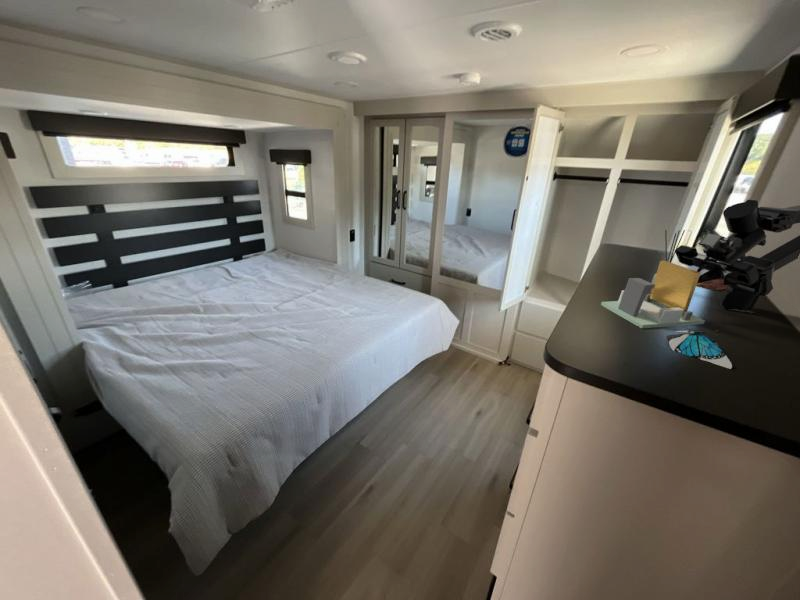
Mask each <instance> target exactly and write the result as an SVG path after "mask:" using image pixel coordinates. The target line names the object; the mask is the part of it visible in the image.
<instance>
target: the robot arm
mask: <svg viewBox="0 0 800 600" xmlns="http://www.w3.org/2000/svg"><path fill="white" fill-rule="evenodd" d="M722 213H723V214H722V215H723V218H724V222H725V225H726V227H727V230H728V232H729V233H731V234H730V235H728V236H727V237H725V236H722V235H719V234H718V235H717V234H713V233H709V232H707V233H706V234H705V235H704V236H703V237H702V238H701V240H700V241H699V242H698V245H699V246H702V247H703V248H704V249H702V251H703V252H702V253H700V252H698V250H697V248H696V247H693V246H688V245H685V244H684V245H678V247H677V249H676V248H675V249H674V252H675V255H676V257H677V259H678V261H679V263H680V264H681V265H685V266H688V267H692V269H691V270H694V271H697V272H700V276H699V279H698V282H697V284H698V283H702V282H706V281H710V280H715V279H724V283H723V284H724V285H728V288H727V289H726V290H723V291H722V294H721V295H720V297H719V299H718V300H717V303H718V304H719V306H721V307H722V306H723V307H724V308H725V309H724V308H723V307H722V308H723V309H724V310H726V309H738V310H745V311H746V310H750V311H751V310H752V311H753V309H754V307H755V305H756V304H757V301H758V300H759V298H760V296H762V297H766V296H768V295H769V294H770V293H771V291H773V289H774V287H773V283H772V282H773V281H772V280H773V276H774V273H775V272H776V271H777V270H780V269H781V268H783V267H785V266H786V265H787V266H788V265H789V264H790V263H792V262H794V261H795V260H797V259H799V258H798V256H799V254H800V234H799V235H797V236H796V237H794V238H791V239H790V240H789V241H787V242H785V243H784V244H782V245H779V246H778V247H776V248H775V249H773V250H771V251H769V252H767V253H765V254H764V255H761V256H760V257H757V256H752V255H747V256H746V254H747V253H748V252H750V251H751V250H753V248H755V247H756V246H762V247H763V246H765V245H766V243H767V240H766V239H767V235H766V232H771V233H772V232H773V233H778V234H779V233H782V232H785V231H788V230H790V229H792V227H793V225H795V224H796V225H797V224H800V205H794V206H788V207H772V206H759V202H758V200H756V199H755V200H753V199H746V200H745V201H744V202H738V203H735V204H732V205H729V206H727V207H726V208H725V209H724V210H723V212H722ZM750 313H752V312H750ZM753 313H754V314H755V311H753Z"/></svg>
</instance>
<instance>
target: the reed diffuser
mask: <svg viewBox="0 0 800 600" xmlns="http://www.w3.org/2000/svg"><path fill="white" fill-rule="evenodd" d="M685 231H686V230H685V229H684V230H683V232H682V234H681V236H680V239H679V241H678V238H679V235H680V232H681V230H679V229H678V232H675V233H674V236H673V240H672V243H671V246H670V250H669V254H667V251H668V250H667V249H668V248H667V244H668V243H667V241H668V240H667V229H665V231H664V232H665V233H664V234H665V237H664V239H665V242H664V243H665V261H667V262H670V263H672V261H673V258H674V256H675V255H676V253H675V251H674V250H676V249H677V248H678V247H679V246H680V243H681V240H682V238H683V236H684V233H685ZM677 241H678V243H677ZM667 255H668V256H667ZM656 274H657V272H656V273H655V274H654V275H653V277H652V281H651V283H652V284H654V281H655V278H656Z"/></svg>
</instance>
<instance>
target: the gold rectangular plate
mask: <svg viewBox="0 0 800 600" xmlns="http://www.w3.org/2000/svg"><path fill="white" fill-rule="evenodd" d="M656 273H657V274H656ZM656 273H655V274H656V278H655V281H654V284H655V287H654V288H651V293H650V294H651V295H650V298H649V301H651V302H653V303H655V304H658V305H660V306H662V307H664V308H681V309H683V310H684V312H688V311H689V307H690V304H691V301H692V299H693V297H694V294H695V290H696V288H697V286H696V285H697V282H698V279H699V276H700V272H697V271H694V270H692V269H691V268H688V267H684V266H682V265H678V264H676V263H672V262H671V263H670V261H668V262H667V261H666V260H660V261H659V264H658V267H657V272H656ZM684 312H683V314H684ZM683 314H682V316H683Z"/></svg>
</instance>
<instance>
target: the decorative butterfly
mask: <svg viewBox="0 0 800 600" xmlns="http://www.w3.org/2000/svg"><path fill="white" fill-rule="evenodd" d="M718 331H719V330H716V332H718ZM674 332H675V333H677V334H674V333H673V334H668V335H666V337H665V338H666V339H667V340H668V341H669V342H668V343H669V347H670V349H672V351H673V352H675V351H676V352H675V353H678V352H679V353H678V354H681V353H682V355H684V354H685V356H688V355H689V356H688V357H691V356H692V357H691V358H698V359H700V360H701V361H704V362H709V363H712V364H714V365H717V366H719V367H720V366H721V367H723V368H726V369H730V370H731V369H732V368H733V365H732V361H730V358H728V356H727V355H726V353H724V351H723V350H722V349H721V348H719V344H718V343H717V341H716V340H714V339H713V338H711V337H709V336H707V335H706V334H707V331H700V330H676V331H674ZM710 332H713V331H710ZM713 335H715V336H716V334H714V333H713ZM717 336H720V335H719V334H717ZM722 337H723V338H724V337H725V336H722Z"/></svg>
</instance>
